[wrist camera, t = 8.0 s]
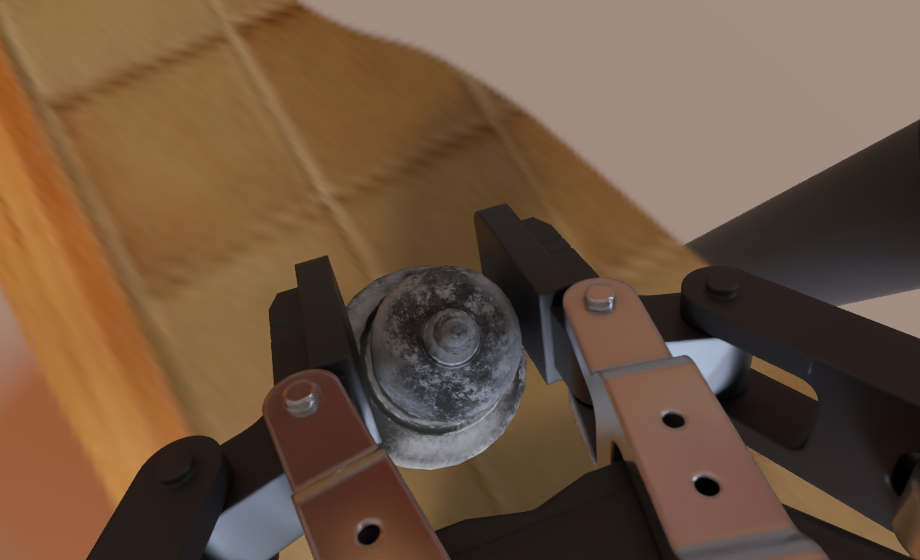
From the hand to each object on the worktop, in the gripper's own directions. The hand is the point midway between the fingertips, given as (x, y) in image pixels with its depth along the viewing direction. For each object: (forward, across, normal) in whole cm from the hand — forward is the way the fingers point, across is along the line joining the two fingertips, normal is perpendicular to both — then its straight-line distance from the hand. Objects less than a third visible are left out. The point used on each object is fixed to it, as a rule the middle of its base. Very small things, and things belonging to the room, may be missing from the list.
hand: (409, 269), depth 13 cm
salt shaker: (+4, 0, +7) cm, 8 cm away
